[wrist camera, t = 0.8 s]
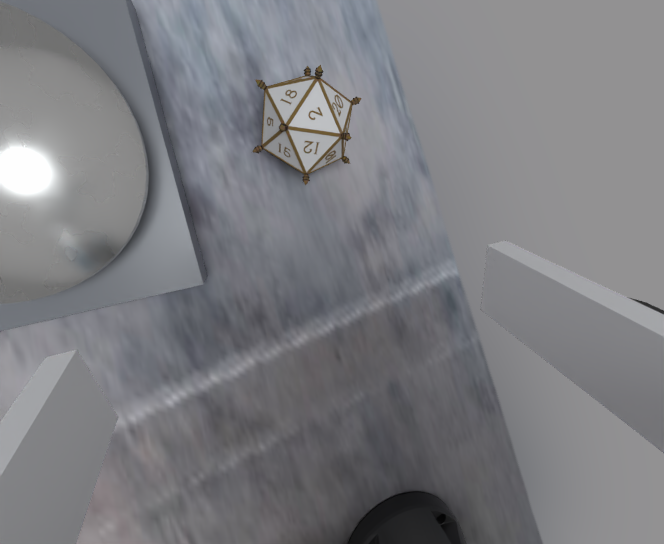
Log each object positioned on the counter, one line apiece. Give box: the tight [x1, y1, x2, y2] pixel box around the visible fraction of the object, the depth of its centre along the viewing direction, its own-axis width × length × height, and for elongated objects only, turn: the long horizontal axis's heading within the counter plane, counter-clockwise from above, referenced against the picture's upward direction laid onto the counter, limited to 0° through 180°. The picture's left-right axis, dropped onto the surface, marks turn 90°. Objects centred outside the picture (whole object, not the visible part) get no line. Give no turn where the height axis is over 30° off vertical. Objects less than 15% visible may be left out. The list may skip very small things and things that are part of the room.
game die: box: [253, 65, 361, 185], centre depth 28 cm, size 9×8×10 cm
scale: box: [0, 0, 207, 331], centre depth 25 cm, size 23×20×4 cm
